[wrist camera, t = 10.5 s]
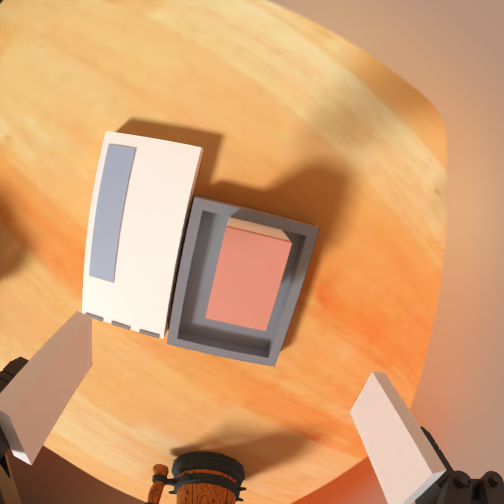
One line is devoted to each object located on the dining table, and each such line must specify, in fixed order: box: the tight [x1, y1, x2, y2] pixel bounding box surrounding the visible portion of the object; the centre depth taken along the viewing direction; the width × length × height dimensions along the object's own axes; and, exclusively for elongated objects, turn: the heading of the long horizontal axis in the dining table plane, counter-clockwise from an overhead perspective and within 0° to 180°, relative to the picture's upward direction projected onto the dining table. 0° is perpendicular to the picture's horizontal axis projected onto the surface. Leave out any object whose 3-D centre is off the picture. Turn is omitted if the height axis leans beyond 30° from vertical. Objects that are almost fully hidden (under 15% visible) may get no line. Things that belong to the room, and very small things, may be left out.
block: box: [205, 217, 292, 331], centre depth 21 cm, size 6×4×6 cm, turn 166°
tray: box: [167, 196, 319, 367], centre depth 24 cm, size 13×10×2 cm
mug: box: [145, 452, 246, 504], centre depth 26 cm, size 13×10×12 cm
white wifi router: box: [82, 131, 204, 339], centre depth 23 cm, size 16×8×2 cm, turn 166°
